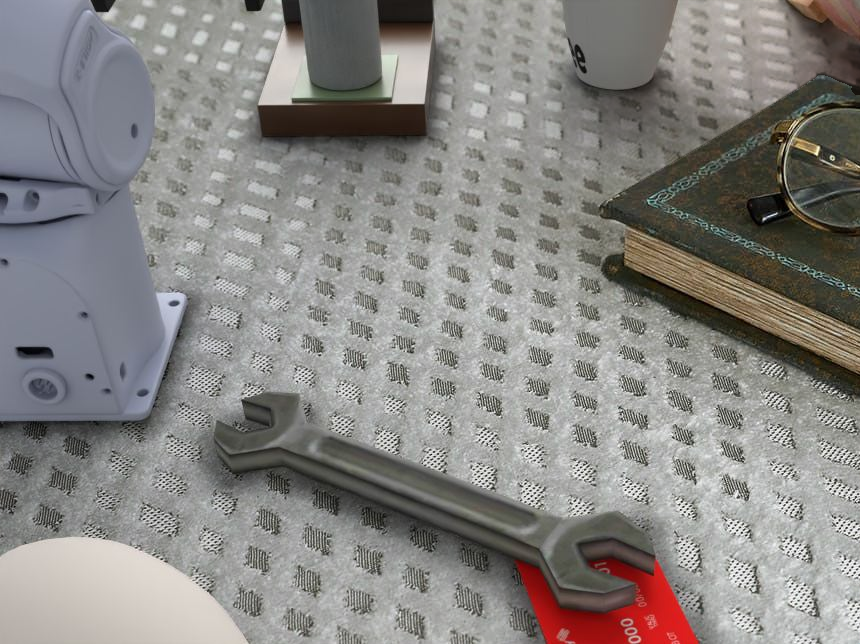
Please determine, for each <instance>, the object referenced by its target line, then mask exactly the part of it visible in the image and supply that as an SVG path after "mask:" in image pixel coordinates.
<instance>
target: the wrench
mask: <svg viewBox="0 0 860 644" xmlns="http://www.w3.org/2000/svg"><path fill="white" fill-rule="evenodd" d="M240 401H241V406H242V410H243V415H244V416H243V417H244V419H245V420H247V421H250V422H253V423H255V424H260V425H262V426H265V427H262V428H257V429H252V430H247V431H243V430H241V429H238V428H236V427H233V426H232V425H230V424H227V423H226V422H223V421H220V420H218V419H216V420H215V427H214V432H213V437H212V438H213V442H214V447H215V451H216V454H217V458H218V459H219V461H221V463H222V464H223V465H224V466H225V467H226V468H227V469H228V471H230V473H231V474H232V475H233V476H234V475H240V474H241V475H242V474H246V473H247V474H248V473H253V472H254V473H255V472H261V471H266V470H272V469H273V470H274V469H278V468H284V469H288V470H290V471H293V472H296V473H298V474H300V475H303V476H305V477H308V478H310V479H313V480H315V481H318V482H320V483H323V484H324V485H328V486H330V487H332V488H335V489H337V490H339V491H340V490H341V491H342V492H345V493H347V494H351V495H352V496H356V497H358V498H360V499H363V500H365V501H368V502H369V503H370V502H371V503H373V504H375V505H378V506H380V507H383V508H385V509H387V510H391V511H393V512H395V513H398V514H400V515H402V516H406V517H408V518H410V519H413V520H415V521H418V522H421V523H423V524H425V525H428V526H430V527H433V528H436V529H438V530H441V531H443V532H446V533H448V534H451V535H453V536H456V537H458V538H461V539H463V540H465V541H468V542H471V543H473V544H475V545H478V546H481V547H483V548H485V549H488V550H491V551H494V552H496V553H498V554H501V555H503V556H505V557H508V558H511V559H513V560H515V559H516V560H518V561H521V562H523V563H526V564H528V565H531V566H533V567H536V568H538V569H540V571H541V573H542V575H543V577H544V579H545V581H546V583H547V585H548V587H549V589H550V591H551V593H552V595H553V597H554V599H555V600H556V602H557V604H558V606H559V608H561V609H569V610H577V611H585V612H593V613H601V614H605V613H608V612H611V611H614V610H618V609H621V608H624V607H627V606H630V605H634V604H635V600H636V586H637V583H634V582H631V581H628V580H625V579H622V578H619V577H617V576H614V575H611V574H608V573H605V572H602V571H599V570H596V569H593V568H591V567H590V565H589V563H588V562H592V561H598V560H604V559H610V558H612V559H615V560H617V561H619V562H622V563H624V564H626V565H628V566H631V567H633V568H635V569H638V570H640V571H642V572H645V573H647V574H649V575H652V576H654V569H655V558H656V553H655V550H654V549H655V548H654V547H653V545H652V544H653V543H652V541H651V538H650V534H649V532H648V531H647V530H646V529H645V528H642V526H640V525H638V524H637V523H636V522H634V521H633V520H631V518H629V517H627V516H626V515H625V514H623V513H622V512H621V511H619V510H611V511H604V512H603V511H602V512H597V513H590V514H583V515H582V514H581V515H575V516H568V517H567V516H566V517H561V516H559V515H557V514H554V513H551V512H549V511H546V510H542V509H540V508H538V507H534V506H532V505H530V504H527V503H524V502H521V501H518V500H516V499H514V498H512V497H508V496H505V495H503V494H500V493H498V492H495V491H492V490H490V489H487V488H485V487H482V486H479V485H477V484H473V483H471V482H468V481H466V480H463V479H461V478H458V477H455V476H453V475H451V474H447V473H444V472H442V471H439V470H436V469H434V468H431V467H429V466H426V465H423V464H421V463H418V462H416V461H413V460H411V459H408V458H405V457H402V456H400V455H397V454H394V453H391V452H389V451H386V450H383V449H381V448H378V447H376V446H373V445H370V444H367V443H365V442H362V441H360V440H356V439H354V438H353V437H352V438H351V437H348V436H346V435H344V434H341V433H339V432H336V431H333V430H331V429H328V428H324V427H322V426H319V425H317V424H315V423H312V422H309V421H308V420H307V416H306V412H305V408H304V406H303V402H302V399H301V394H300V393H298V392H297V393H295V392H281V391H265V392H262V393H258V394H254V395H250V396H248V397H245V398H241V399H240ZM656 559H657V558H656Z"/></svg>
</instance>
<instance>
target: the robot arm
mask: <svg viewBox="0 0 860 644" xmlns="http://www.w3.org/2000/svg"><path fill="white" fill-rule="evenodd" d="M116 1H117V0H0V422H88V421H89V422H116V421H117V422H121V421H122V422H124V421H125V422H127V421H132V422H134V421H135V422H136V421H137V422H138V421H143V420H145V419H147V418H148V417H149V416H150V415H151V413H152V410H153V408H154V404H155V402H156V398H157V396H158V393H159V389H160V387H161V383H162V380H163V378H164V375H165V371H166V369H167V366H168V363H169V359H170V357H171V355H172V351H173V348H174V345H175V342H176V340H177V336H178V334H179V330H180V328H181V324H182V321H183V318H184V315H185V312H186V309H187V306H188V298H187V295H186V294H185V293H182V292H157V291H156V287H155V283H154V279H153V274H152V271H151V267H150V263H149V259H148V255H147V251H146V246H145V242H144V238H143V236H142V235H143V234H142V231H141V227H140V222H139V219H138V215H137V212H136V207H135V203H134V200H133V199H134V198H133V196H132V191H131V187H130V183H131V182H132V181H133V180H135V179H134V178H135V177H136V176H137V175H138V173H139V171H140V170H141V168H142V167H143V166H144V164H145V162H146V160H147V158H148V156H149V153H150V150H151V147H152V142H153V139H154V131H155V123H156V104H155V95H154V94H155V93H154V88H153V83H152V79H151V75H150V73H149V69H148V67H147V65H146V63H145V62H146V61H144V59H143V57H142V55H141V54H140V52H139V50H138V48H137V47H136V44H134V42H133V41H132V40H131V39H130V37H129V36H128V35H127V34H126V33H125V32H123V30H122V29H119V28H116V27H114V26H112V25H110V24H109V23H107V22H105V20H103V19H102V18H101V17H100V16H99V14H98V13H109V12H110V11H111V9H112V8H113V6H114V4H115V3H116ZM243 1H244V5H245V9H246V10H245V11H246V12H261V11H262V9H263V6H264V3H265V2H266V0H243Z"/></svg>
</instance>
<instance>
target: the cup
mask: <svg viewBox="0 0 860 644" xmlns="http://www.w3.org/2000/svg"><path fill="white" fill-rule="evenodd" d="M678 3H679V0H561V5H562V13H563V21H564V27H565V35H566V39H567V43H568V47H569V50H570V54H571V59H572V61H573V65H574V69H575V72H576V75H577V77H578V78H579V79H580V81H581V82H583V83H585V84H587V85H589V86H592V87H594V88H600V89H604V90H629V89H635V88H638V87H642V86H644V85H646V84H648V83H649V82H650V81H651V80H652V78H653V77H654V75H655V73H656V70H657V67H658V65H659V62H660V60H661V58H662V56H663V53H664V50H665V48H666V46H667V44H668V40H669V37H670V33H671V29H672V25H673V22H674V18H675V14H676V11H677V6H678Z"/></svg>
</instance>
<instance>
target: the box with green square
mask: <svg viewBox="0 0 860 644" xmlns="http://www.w3.org/2000/svg"><path fill="white" fill-rule="evenodd" d="M280 1H281V7H282V9H281V10H282V15H283V16H282V17H283V22H284V24H283V27H282V29H281V33H280V36H279V39H278V42H277V44H276V47H275V51H274V54H273V56H272V60H271V62H270V66H269V69H268V72H267V75H266V78H265V81H264V84H263V87H262V91H261V93H260V96H259V99H258V102H257V112H258V119H259V126H260V131H261V136H262V137H343V136H344V137H345V136H350V137H351V136H355V137H356V136H427V133H428V123H429V113H430V106H431V104H430V103H431V95H432V86H433V85H432V84H433V75H434V66H435V57H436V46H437V43H436V42H437V41H436V40H437V39H436V22H435V21H436V20H435V3H434V2H435V1H434V0H377V7H378V20H379V32H380V45H381V57H382V75H381V77H380V78H379V80H377V81H376V82H375V83H373V84H371V85H369V86H366V87H363V88H359V89H355V90H344V91H341V90H330V89H325V88H322V87H319V86H317V85H315V84H314V83H313V82H312V81H311V80H310V78H309V73H308V67H307V59H306V51H305V43H304V35H303V27H302V19H301V11H300V3H299V0H280Z"/></svg>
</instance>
